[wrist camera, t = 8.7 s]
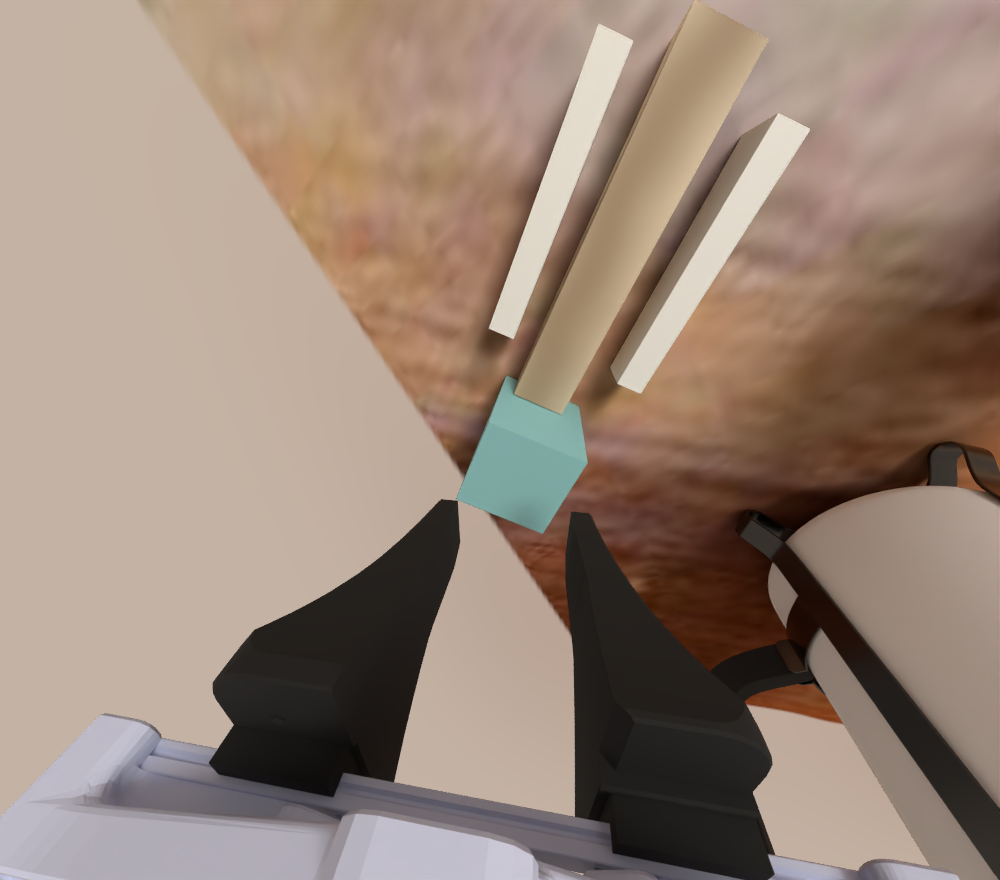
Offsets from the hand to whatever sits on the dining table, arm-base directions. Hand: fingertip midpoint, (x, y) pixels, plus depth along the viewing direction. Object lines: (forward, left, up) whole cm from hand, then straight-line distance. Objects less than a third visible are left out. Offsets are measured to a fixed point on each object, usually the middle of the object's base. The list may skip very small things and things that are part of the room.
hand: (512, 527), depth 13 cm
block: (0, 0, -9) cm, 9 cm away
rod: (0, -9, -9) cm, 13 cm away
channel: (0, -10, -9) cm, 13 cm away
